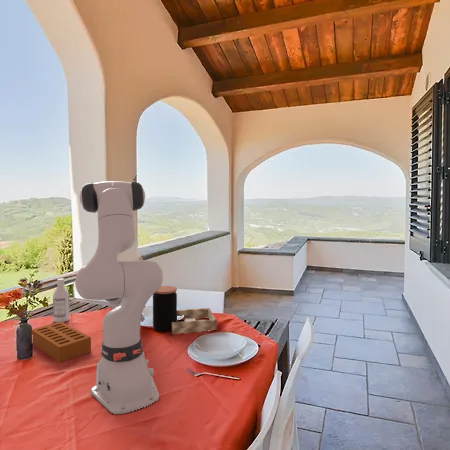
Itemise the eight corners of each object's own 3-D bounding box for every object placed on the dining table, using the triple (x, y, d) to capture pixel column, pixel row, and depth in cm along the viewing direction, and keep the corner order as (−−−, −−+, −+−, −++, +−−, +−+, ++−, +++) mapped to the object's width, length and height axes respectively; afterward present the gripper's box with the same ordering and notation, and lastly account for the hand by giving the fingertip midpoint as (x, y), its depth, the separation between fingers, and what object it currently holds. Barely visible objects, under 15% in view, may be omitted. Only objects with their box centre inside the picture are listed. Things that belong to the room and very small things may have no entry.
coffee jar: (179, 324, 160) (179, 286, 159) (173, 332, 149) (173, 292, 148) (157, 323, 161) (156, 285, 160) (149, 331, 150) (149, 291, 149)
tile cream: (185, 326, 158) (185, 322, 158) (184, 322, 163) (184, 318, 163) (196, 325, 159) (196, 321, 159) (194, 322, 164) (194, 318, 164)
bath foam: (61, 317, 168) (60, 276, 166) (72, 318, 165) (72, 278, 164) (50, 321, 161) (49, 280, 160) (61, 323, 159) (60, 281, 157)
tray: (172, 334, 148) (172, 323, 147) (169, 320, 164) (169, 310, 164) (216, 330, 152) (216, 319, 152) (209, 317, 169) (209, 307, 168)
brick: (91, 352, 130) (91, 337, 130) (59, 363, 121) (59, 347, 121) (61, 335, 147) (61, 321, 146) (31, 344, 137) (30, 329, 137)
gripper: (124, 301, 140) (149, 322, 143) (126, 288, 160) (148, 307, 163) (113, 312, 139) (138, 333, 142) (116, 298, 159) (138, 317, 162)
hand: (143, 319), depth 153 cm, fingers closed
